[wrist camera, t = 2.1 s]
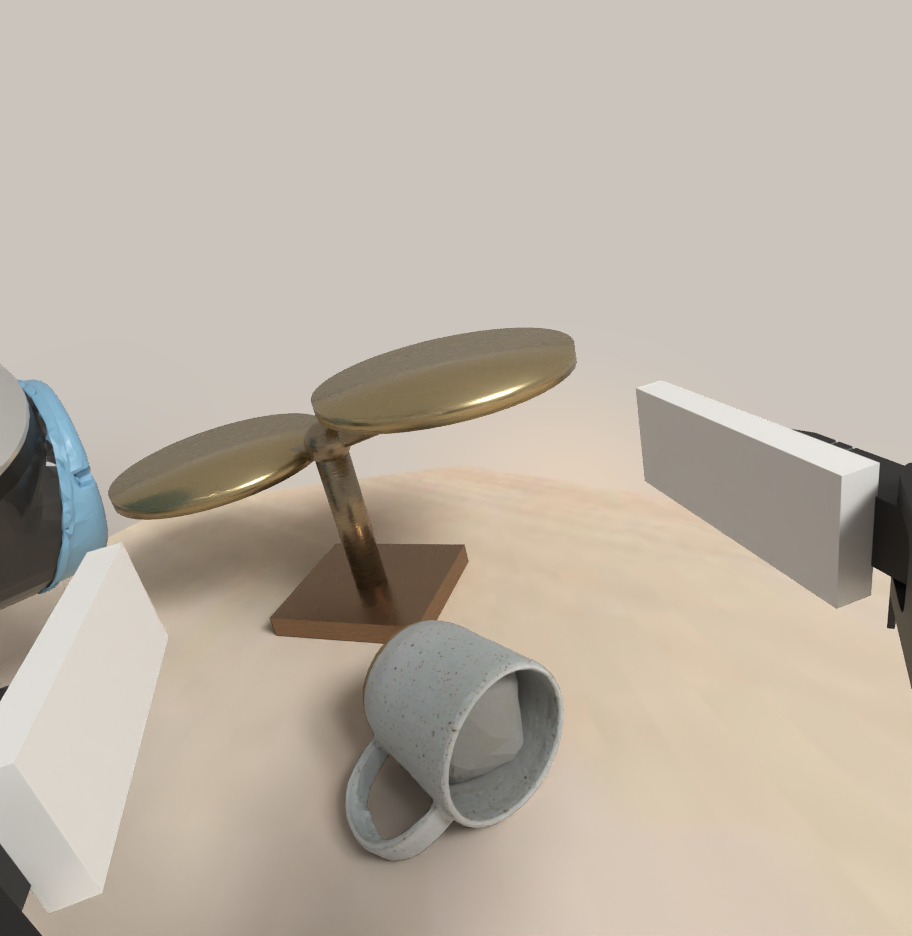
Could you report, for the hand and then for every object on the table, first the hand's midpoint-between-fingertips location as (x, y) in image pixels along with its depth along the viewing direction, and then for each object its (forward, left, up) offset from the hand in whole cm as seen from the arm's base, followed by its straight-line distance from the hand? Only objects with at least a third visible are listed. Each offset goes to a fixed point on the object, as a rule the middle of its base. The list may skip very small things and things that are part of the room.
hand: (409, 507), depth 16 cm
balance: (-18, +22, -20) cm, 34 cm away
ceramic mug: (-6, +7, -20) cm, 22 cm away
